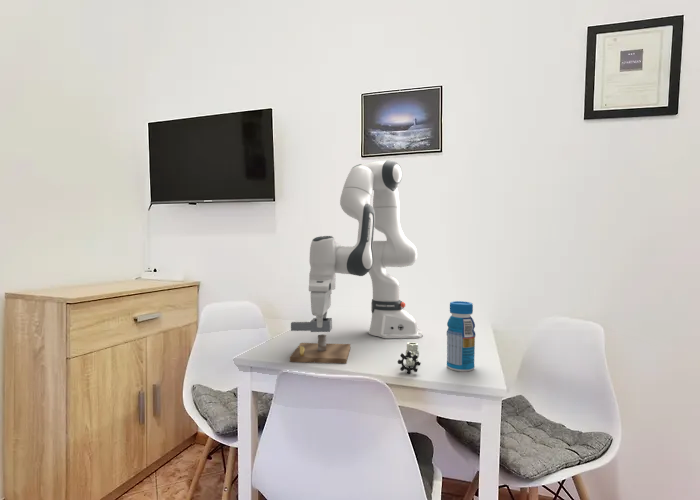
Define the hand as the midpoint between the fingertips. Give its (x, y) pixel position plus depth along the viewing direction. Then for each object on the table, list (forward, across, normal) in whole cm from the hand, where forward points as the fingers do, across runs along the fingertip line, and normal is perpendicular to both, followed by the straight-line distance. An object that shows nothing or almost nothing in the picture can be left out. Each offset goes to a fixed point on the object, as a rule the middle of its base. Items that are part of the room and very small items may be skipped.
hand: (321, 324), depth 132 cm
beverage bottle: (+10, +10, +44) cm, 46 cm away
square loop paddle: (+2, 0, -4) cm, 4 cm away
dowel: (+10, +7, -5) cm, 13 cm away
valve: (+10, +11, +29) cm, 33 cm away
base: (+10, 0, 0) cm, 10 cm away
